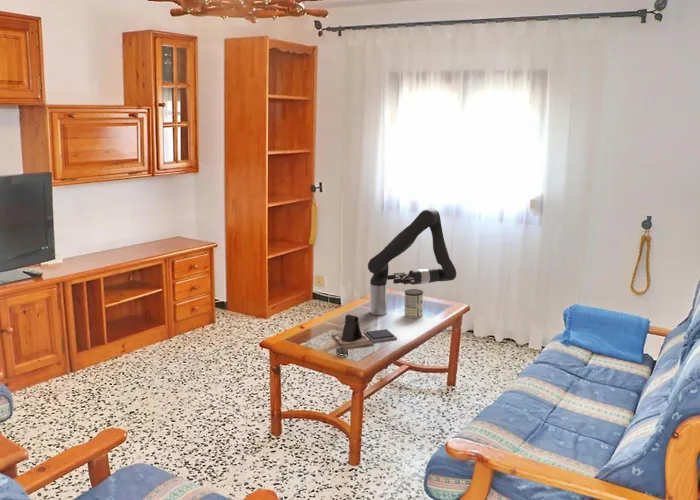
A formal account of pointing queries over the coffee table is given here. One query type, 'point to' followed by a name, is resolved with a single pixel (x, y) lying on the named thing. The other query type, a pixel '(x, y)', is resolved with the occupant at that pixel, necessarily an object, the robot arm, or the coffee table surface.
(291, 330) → the coffee table surface
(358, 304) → the coffee table surface
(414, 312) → the coffee can
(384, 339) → the ink pad
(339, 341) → the marked board
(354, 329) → the phone stand
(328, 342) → the coffee table surface
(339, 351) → the car cutout
